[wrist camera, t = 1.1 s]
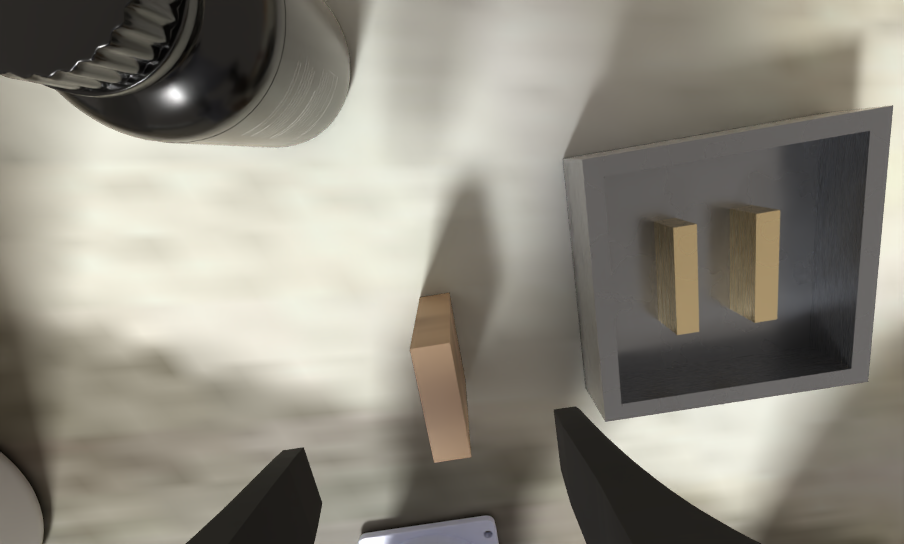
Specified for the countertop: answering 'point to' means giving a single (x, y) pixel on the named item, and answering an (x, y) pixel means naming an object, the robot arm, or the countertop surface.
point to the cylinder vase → (18, 507)
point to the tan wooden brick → (441, 378)
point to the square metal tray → (729, 262)
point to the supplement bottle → (185, 65)
